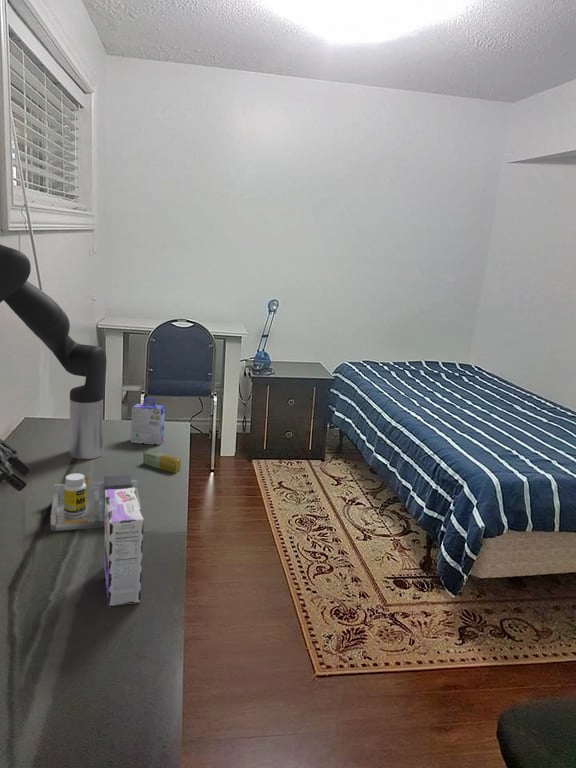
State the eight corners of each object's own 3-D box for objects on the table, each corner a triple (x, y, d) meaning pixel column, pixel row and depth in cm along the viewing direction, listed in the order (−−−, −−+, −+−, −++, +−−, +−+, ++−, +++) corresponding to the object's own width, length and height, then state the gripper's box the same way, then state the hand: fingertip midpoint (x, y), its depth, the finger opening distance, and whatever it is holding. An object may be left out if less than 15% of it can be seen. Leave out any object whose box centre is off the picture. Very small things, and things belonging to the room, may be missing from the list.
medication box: (142, 464, 161) (142, 451, 160) (148, 461, 163) (148, 449, 162) (175, 474, 156) (175, 461, 155) (181, 471, 158) (181, 458, 157)
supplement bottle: (78, 517, 122) (77, 482, 120) (59, 513, 123) (58, 478, 121) (90, 508, 127) (90, 474, 125) (72, 504, 128) (72, 471, 126)
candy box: (103, 566, 107) (104, 488, 103) (134, 562, 109) (136, 486, 105) (107, 608, 94) (108, 521, 91) (142, 603, 96) (144, 518, 93)
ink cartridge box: (164, 440, 182) (166, 398, 179) (160, 445, 177) (162, 402, 174) (135, 437, 182) (136, 396, 179) (130, 443, 177) (131, 400, 174)
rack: (54, 503, 131) (54, 470, 129) (136, 498, 137) (137, 466, 136) (50, 531, 118) (50, 494, 116) (141, 524, 125) (142, 489, 123)
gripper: (-29, 429, 107) (36, 480, 113) (-16, 409, 120) (41, 456, 126) (-59, 455, 106) (8, 506, 113) (-43, 433, 119) (16, 479, 126)
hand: (25, 480), depth 119 cm, fingers open, 8 cm apart
